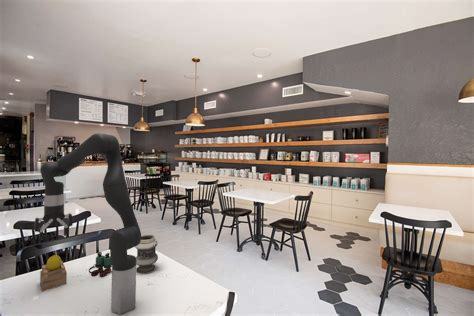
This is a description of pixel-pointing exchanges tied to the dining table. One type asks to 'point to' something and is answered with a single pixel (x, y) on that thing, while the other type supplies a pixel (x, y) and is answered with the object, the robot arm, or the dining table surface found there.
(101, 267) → the binoculars
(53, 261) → the lemon
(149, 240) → the apothecary jar
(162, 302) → the dining table surface
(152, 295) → the dining table surface
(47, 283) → the wooden crate
